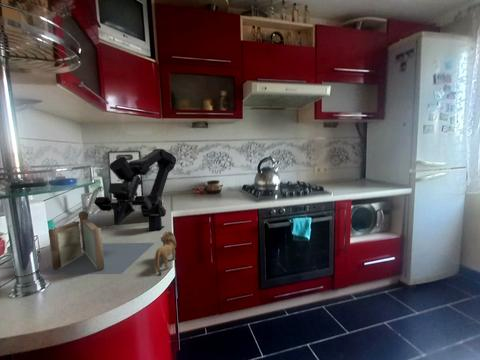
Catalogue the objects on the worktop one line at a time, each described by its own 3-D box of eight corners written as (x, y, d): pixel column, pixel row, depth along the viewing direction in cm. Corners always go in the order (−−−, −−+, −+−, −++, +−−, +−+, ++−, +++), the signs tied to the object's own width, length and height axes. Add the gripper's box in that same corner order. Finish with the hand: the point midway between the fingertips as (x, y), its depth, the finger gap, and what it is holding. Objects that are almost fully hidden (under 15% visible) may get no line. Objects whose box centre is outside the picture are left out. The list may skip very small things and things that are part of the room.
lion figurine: (162, 256, 82) (160, 230, 81) (178, 255, 83) (177, 229, 82) (151, 278, 68) (148, 246, 67) (171, 276, 68) (169, 245, 67)
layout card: (89, 244, 95) (89, 243, 95) (155, 243, 94) (154, 242, 94) (34, 275, 71) (34, 273, 71) (121, 274, 70) (121, 273, 70)
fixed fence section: (85, 249, 90) (81, 210, 88) (93, 248, 89) (89, 210, 88) (49, 269, 74) (44, 223, 72) (59, 269, 73) (54, 223, 72)
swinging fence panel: (90, 249, 88) (87, 216, 86) (105, 268, 73) (101, 228, 71) (84, 251, 86) (80, 217, 85) (97, 270, 71) (93, 230, 70)
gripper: (94, 174, 87) (75, 212, 78) (145, 173, 86) (133, 211, 77) (109, 192, 96) (94, 229, 86) (156, 191, 95) (146, 228, 85)
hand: (115, 224), depth 84 cm, fingers closed
